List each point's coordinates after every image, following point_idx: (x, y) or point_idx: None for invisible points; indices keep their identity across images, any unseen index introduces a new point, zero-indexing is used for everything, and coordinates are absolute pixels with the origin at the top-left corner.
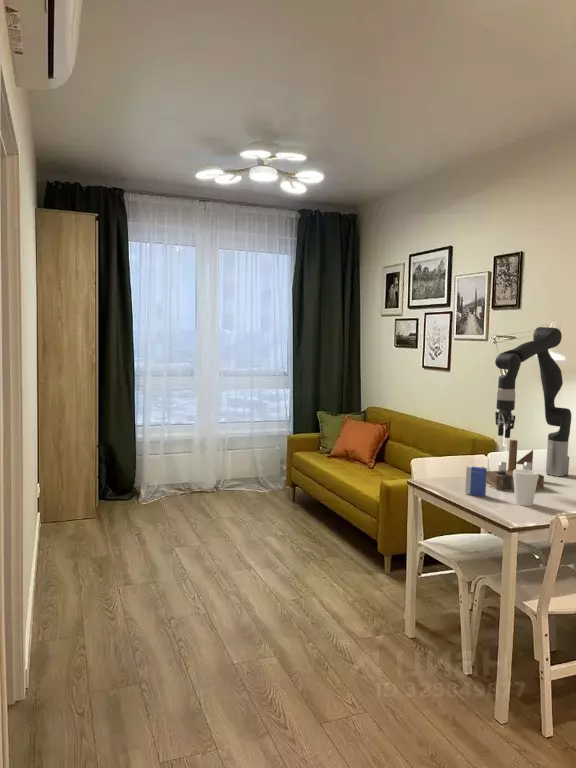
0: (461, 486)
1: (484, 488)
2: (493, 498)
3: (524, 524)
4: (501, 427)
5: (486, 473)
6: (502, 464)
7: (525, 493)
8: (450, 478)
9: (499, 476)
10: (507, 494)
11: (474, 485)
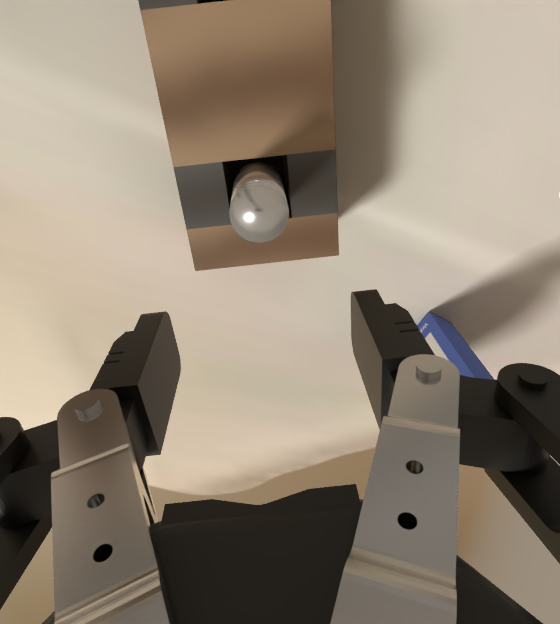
0: (268, 364)
1: (466, 345)
2: (481, 293)
3: None
4: (141, 420)
5: (476, 376)
6: (286, 221)
7: None
8: None
9: (337, 236)
10: (421, 199)
11: None
